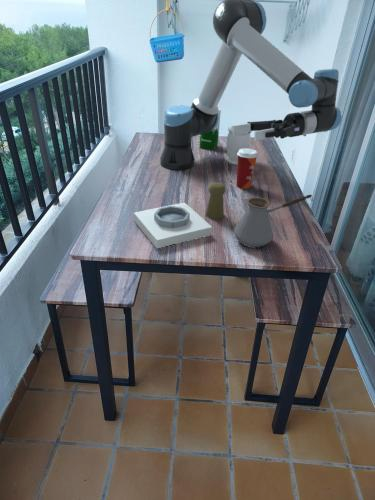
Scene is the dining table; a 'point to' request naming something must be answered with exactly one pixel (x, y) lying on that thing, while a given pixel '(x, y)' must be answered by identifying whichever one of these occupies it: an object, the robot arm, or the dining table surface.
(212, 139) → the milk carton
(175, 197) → the dining table surface
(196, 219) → the base plate
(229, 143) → the jar
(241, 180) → the paper cup
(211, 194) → the cork
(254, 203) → the coffee pot
